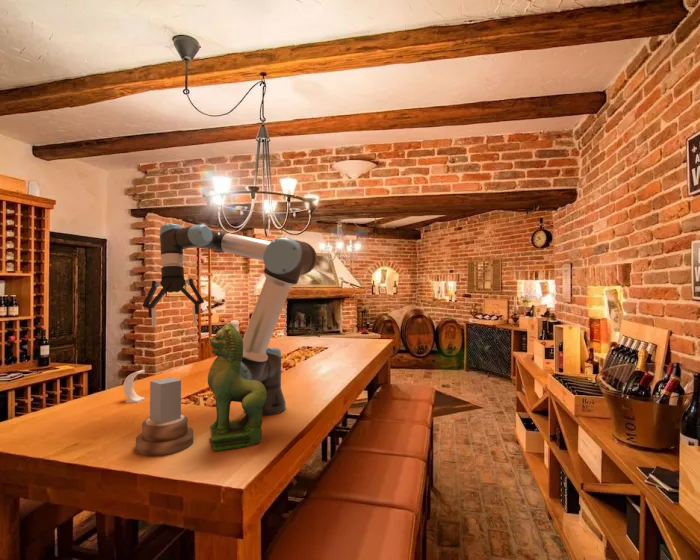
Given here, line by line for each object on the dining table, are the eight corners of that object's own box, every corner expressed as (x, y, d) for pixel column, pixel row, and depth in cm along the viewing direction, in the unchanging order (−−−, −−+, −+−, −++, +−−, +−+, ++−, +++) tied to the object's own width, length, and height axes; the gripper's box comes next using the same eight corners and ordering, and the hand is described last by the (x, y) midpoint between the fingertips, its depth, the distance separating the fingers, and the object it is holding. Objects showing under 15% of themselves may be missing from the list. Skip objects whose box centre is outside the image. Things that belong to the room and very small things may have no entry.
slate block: (170, 414, 118) (170, 377, 118) (180, 418, 114) (181, 380, 115) (149, 419, 113) (150, 381, 114) (160, 424, 110) (160, 384, 110)
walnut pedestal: (200, 434, 122) (200, 410, 122) (181, 455, 107) (181, 427, 107) (150, 435, 121) (150, 411, 121) (124, 456, 106) (125, 428, 106)
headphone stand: (137, 402, 155) (137, 372, 155) (123, 402, 155) (123, 371, 156) (144, 399, 159) (145, 369, 160) (130, 399, 160) (131, 369, 160)
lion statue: (206, 437, 120) (207, 321, 120) (261, 429, 126) (261, 319, 127) (208, 454, 107) (209, 325, 108) (269, 445, 114) (270, 323, 114)
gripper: (209, 266, 150) (212, 322, 148) (138, 270, 145) (140, 328, 142) (207, 263, 143) (209, 321, 141) (131, 267, 138) (133, 328, 135)
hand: (174, 325), depth 142 cm, fingers open, 13 cm apart
